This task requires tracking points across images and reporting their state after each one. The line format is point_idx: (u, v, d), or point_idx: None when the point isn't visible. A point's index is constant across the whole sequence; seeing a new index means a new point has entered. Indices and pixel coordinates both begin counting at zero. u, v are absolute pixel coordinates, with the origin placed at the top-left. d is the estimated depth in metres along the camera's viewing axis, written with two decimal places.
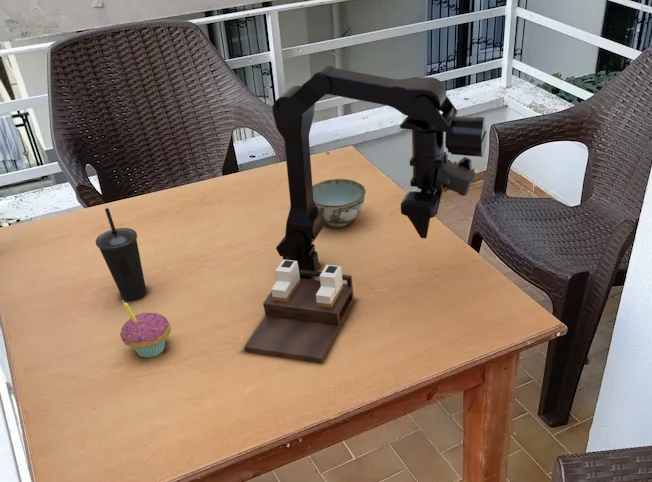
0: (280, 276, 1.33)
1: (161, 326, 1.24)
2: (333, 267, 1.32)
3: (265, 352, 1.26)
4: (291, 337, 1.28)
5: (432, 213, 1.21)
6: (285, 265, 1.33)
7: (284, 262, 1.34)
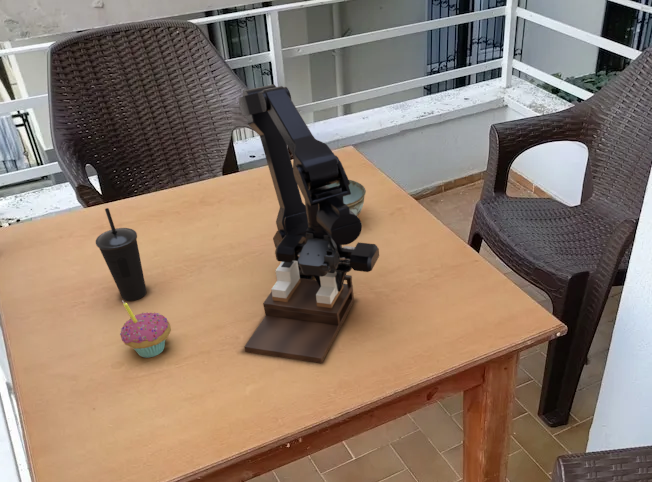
0: (280, 276, 1.33)
1: (161, 326, 1.24)
2: None
3: (265, 352, 1.26)
4: (291, 337, 1.28)
5: (276, 256, 1.28)
6: (285, 265, 1.33)
7: (284, 262, 1.34)
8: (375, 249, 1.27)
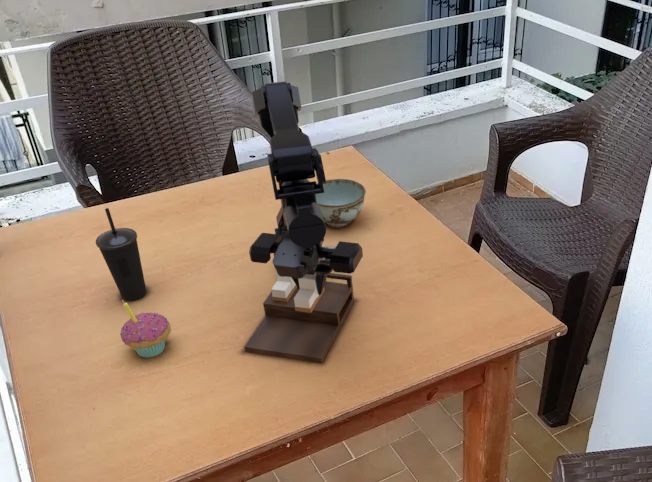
0: (280, 276, 1.33)
1: (161, 326, 1.24)
2: None
3: (265, 352, 1.26)
4: (291, 337, 1.28)
5: (250, 257, 1.18)
6: None
7: None
8: (358, 248, 1.16)
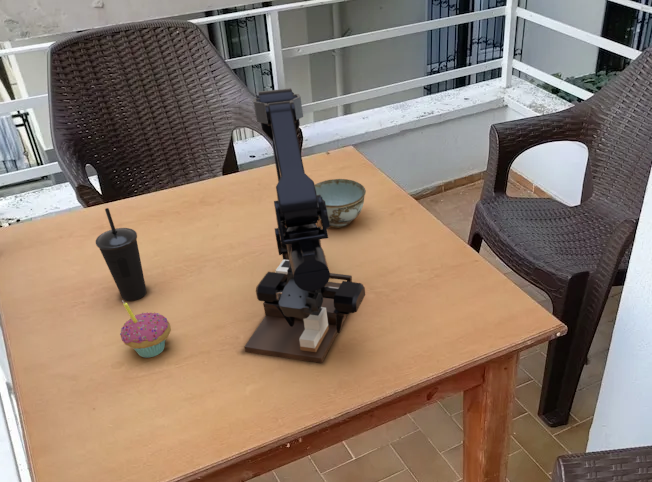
0: None
1: (161, 326, 1.24)
2: None
3: (265, 352, 1.26)
4: (291, 337, 1.28)
5: (257, 296, 1.22)
6: (285, 265, 1.33)
7: (284, 262, 1.34)
8: (361, 288, 1.21)
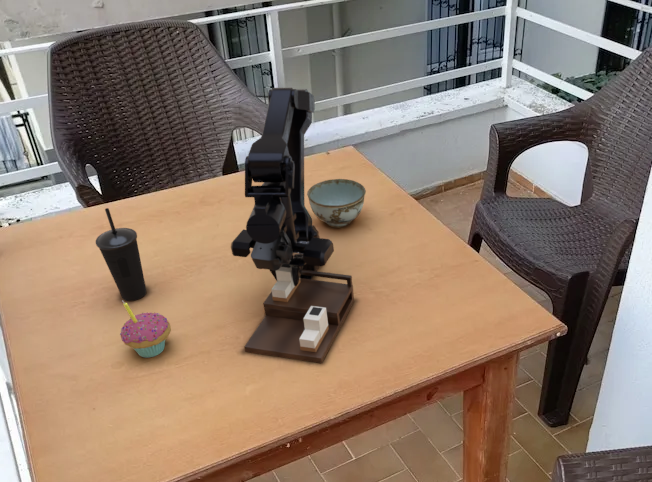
0: (280, 276, 1.33)
1: (161, 326, 1.24)
2: (318, 309, 1.27)
3: (265, 352, 1.26)
4: (291, 337, 1.28)
5: (232, 251, 1.30)
6: (285, 265, 1.33)
7: None
8: (329, 244, 1.28)
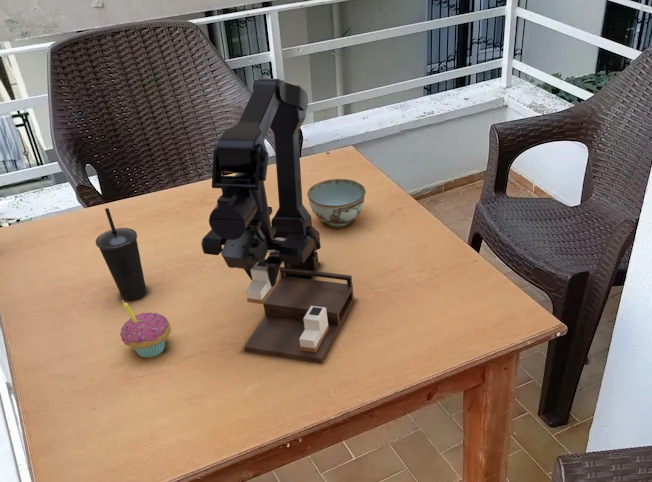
0: (256, 276, 1.22)
1: (161, 326, 1.24)
2: (318, 309, 1.27)
3: (265, 352, 1.26)
4: (291, 337, 1.28)
5: (202, 249, 1.19)
6: (261, 264, 1.23)
7: None
8: (308, 241, 1.18)
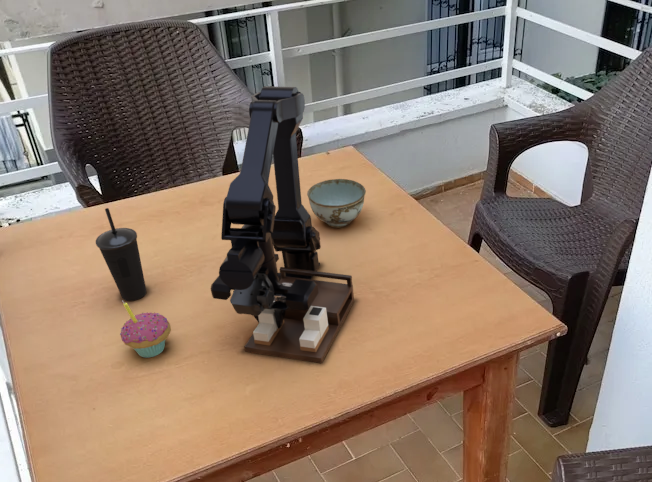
0: (262, 318, 1.27)
1: (161, 326, 1.24)
2: (318, 309, 1.27)
3: (265, 352, 1.26)
4: (291, 337, 1.28)
5: (212, 294, 1.24)
6: None
7: None
8: (313, 286, 1.23)
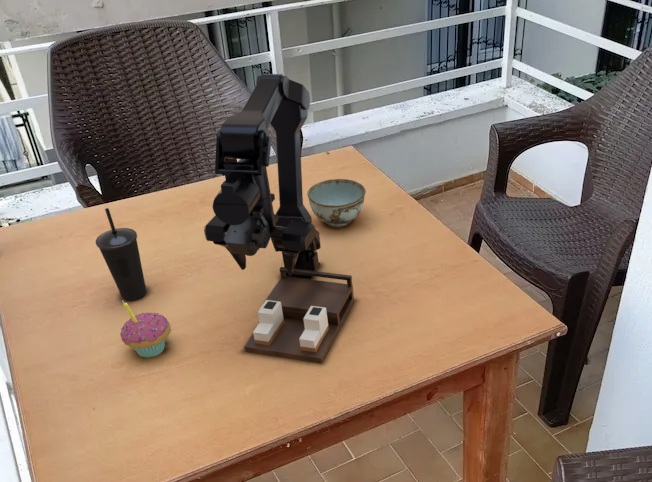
0: (262, 318, 1.27)
1: (161, 326, 1.24)
2: (318, 309, 1.27)
3: (265, 352, 1.26)
4: (291, 337, 1.28)
5: (205, 236, 1.20)
6: (267, 306, 1.28)
7: (266, 303, 1.28)
8: (310, 227, 1.18)
